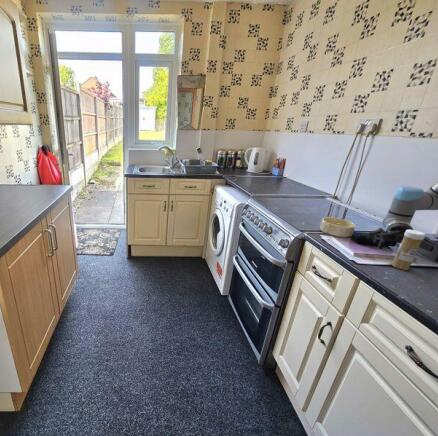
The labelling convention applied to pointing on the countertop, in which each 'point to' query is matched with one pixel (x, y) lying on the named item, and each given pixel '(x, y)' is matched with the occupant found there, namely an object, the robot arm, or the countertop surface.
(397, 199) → the robot arm
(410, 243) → the sprinkles bottle
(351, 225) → the beige round bowl
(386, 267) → the countertop surface
